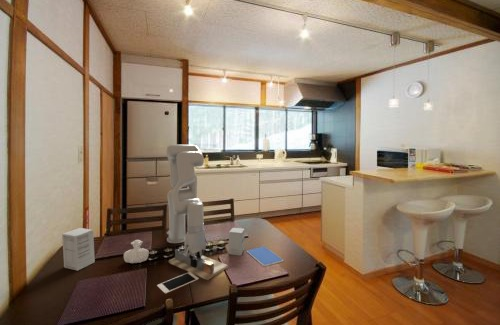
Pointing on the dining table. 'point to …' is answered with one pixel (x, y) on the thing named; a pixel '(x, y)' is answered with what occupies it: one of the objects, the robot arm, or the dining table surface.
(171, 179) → the robot arm
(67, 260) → the supplement box
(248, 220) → the dining table surface
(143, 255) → the white rounded piece
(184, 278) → the cell phone
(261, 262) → the tablet computer
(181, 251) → the tongs hinged arm
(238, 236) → the supplement box
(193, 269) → the rest board
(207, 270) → the tongs fixed arm
